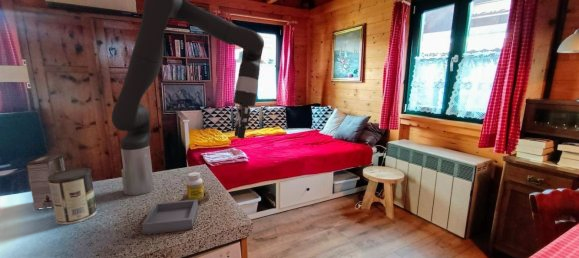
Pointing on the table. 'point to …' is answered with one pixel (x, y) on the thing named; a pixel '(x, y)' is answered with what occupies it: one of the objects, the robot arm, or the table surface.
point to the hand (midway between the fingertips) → (238, 137)
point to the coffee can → (72, 195)
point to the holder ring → (200, 201)
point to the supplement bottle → (195, 186)
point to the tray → (170, 217)
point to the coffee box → (43, 178)
